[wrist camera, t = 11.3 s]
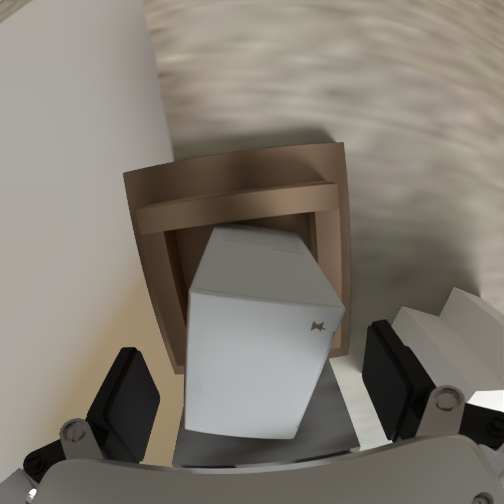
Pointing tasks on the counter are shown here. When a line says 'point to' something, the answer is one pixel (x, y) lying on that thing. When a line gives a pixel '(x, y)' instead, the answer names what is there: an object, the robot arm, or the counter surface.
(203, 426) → the small box
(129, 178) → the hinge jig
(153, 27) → the counter surface
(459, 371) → the corner bracket
